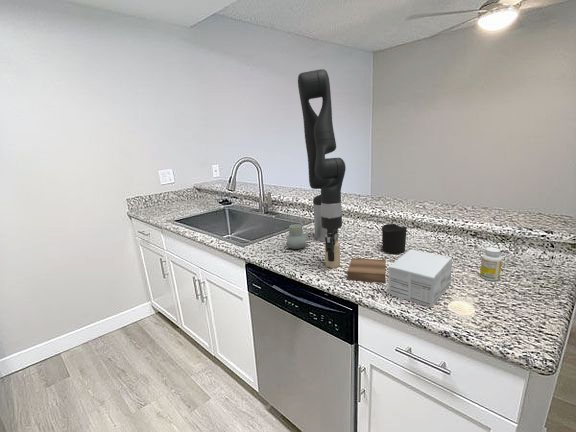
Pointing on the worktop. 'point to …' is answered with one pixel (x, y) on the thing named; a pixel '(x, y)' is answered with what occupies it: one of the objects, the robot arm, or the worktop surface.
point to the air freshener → (296, 237)
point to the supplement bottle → (491, 264)
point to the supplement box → (420, 277)
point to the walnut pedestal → (367, 270)
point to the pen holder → (393, 238)
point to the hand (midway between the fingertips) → (332, 257)
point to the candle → (336, 256)
